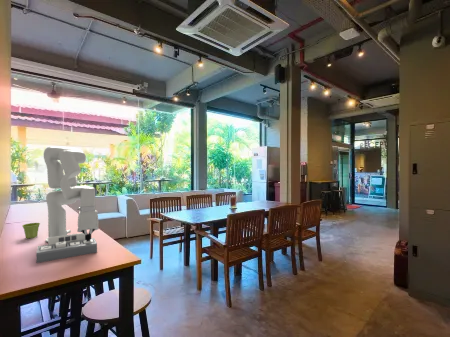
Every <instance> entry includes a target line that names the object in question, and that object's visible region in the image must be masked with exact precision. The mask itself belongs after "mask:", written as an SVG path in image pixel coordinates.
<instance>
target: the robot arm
mask: <svg viewBox="0 0 450 337" xmlns="http://www.w3.org/2000/svg"><path fill="white" fill-rule="evenodd" d="M86 158H87V157H86V154H85V152H84V151H83V150H82V149H78V148H76V147H67V146H49V147H46V148H45V149H44V151H43V160H44V163H45V166H46V169H47V170H46V171H47V184H48V188H50V189H53V191H50V192H47V194H46V196H45V200H46V206H47V212H48V213H47V217H48V218H47V223H48V225H47V226H48V232H47V234H48V235H47V236H48V237H55V236H63V235H69V234H70V233H71V230H70V229H68V230H67V212H66V209H65V208H64V207H63V206H66V205H72V204H75V203H76V202H78V200H79V201H80V202H79V203H80V205H79V207H77V208H76V209H77V211H79V212H78V217H77V229H76V231H77V232H78V233H84V234H85V240H86V241H87V242H88V241H90V239H91V238H92V234H93V233H94V232H95V231H97V230H99V213H98V210H96V188H95V187H93V186H88V185H78V182H77V178H76V177H77V176H78V175H80V174H81V172H82V169H81V167H80V165H79V164H83V163H85V162H86ZM57 189H60V190H57ZM87 230H89V231H87ZM48 237H46V238H45V242H46V243H48Z"/></svg>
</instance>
